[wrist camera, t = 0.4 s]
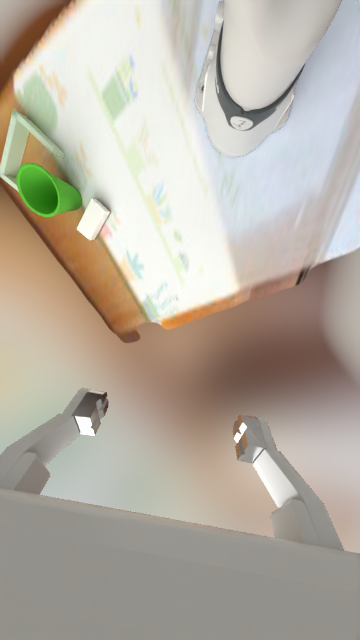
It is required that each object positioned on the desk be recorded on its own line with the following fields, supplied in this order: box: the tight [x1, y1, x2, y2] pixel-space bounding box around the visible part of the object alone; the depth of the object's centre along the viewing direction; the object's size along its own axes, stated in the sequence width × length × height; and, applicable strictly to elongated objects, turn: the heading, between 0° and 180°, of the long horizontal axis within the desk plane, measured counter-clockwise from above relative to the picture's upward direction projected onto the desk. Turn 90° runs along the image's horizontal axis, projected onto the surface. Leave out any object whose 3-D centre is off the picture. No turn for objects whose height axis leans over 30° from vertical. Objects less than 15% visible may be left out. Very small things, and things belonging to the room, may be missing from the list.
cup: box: [16, 163, 82, 217], centre depth 40 cm, size 9×9×11 cm
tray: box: [0, 109, 65, 192], centre depth 40 cm, size 14×9×4 cm, turn 137°
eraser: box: [77, 198, 111, 240], centre depth 45 cm, size 9×4×4 cm, turn 138°
